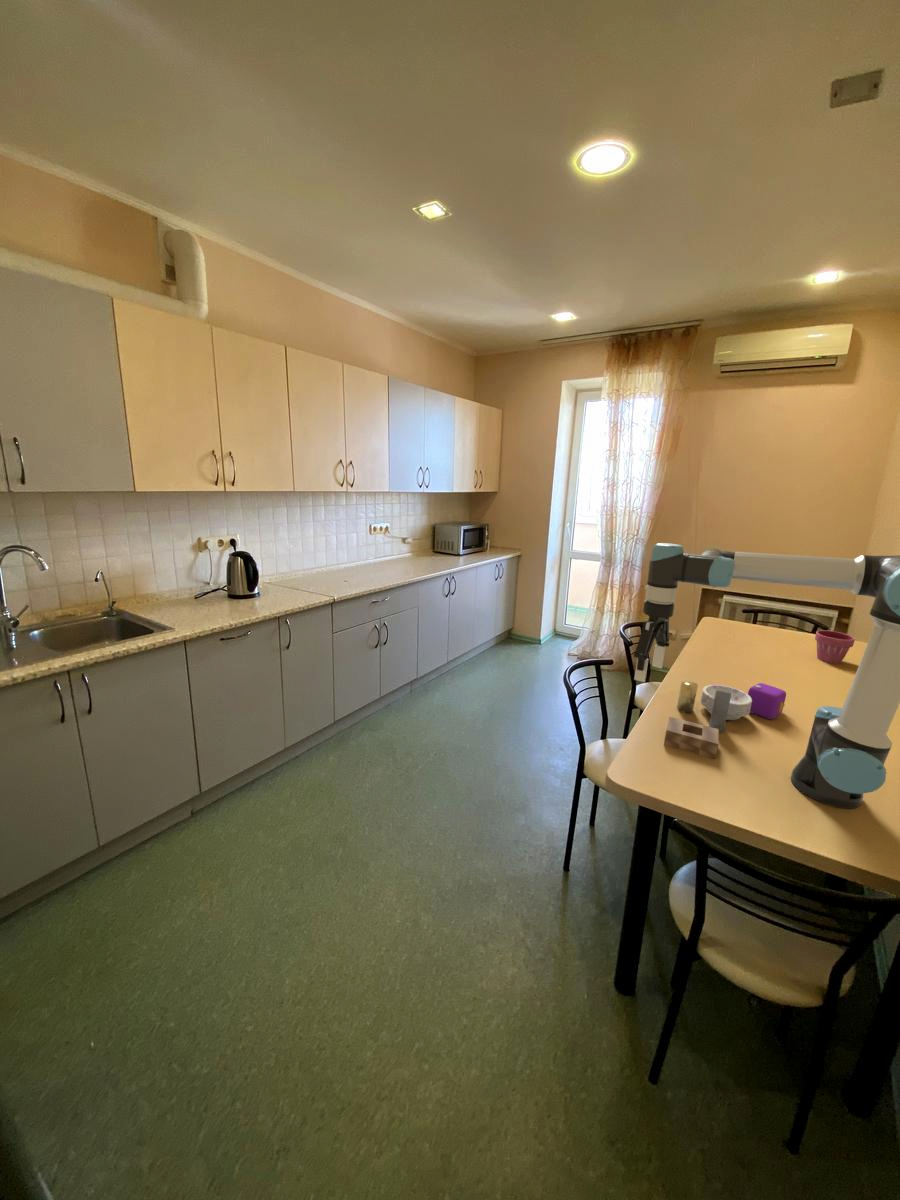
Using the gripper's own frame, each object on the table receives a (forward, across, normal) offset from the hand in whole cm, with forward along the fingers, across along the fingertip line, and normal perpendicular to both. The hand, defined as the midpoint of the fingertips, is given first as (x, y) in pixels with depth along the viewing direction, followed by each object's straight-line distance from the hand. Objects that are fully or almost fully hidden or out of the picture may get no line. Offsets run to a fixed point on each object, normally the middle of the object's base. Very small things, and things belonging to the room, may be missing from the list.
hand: (648, 673), depth 132 cm
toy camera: (+26, -62, +23) cm, 71 cm away
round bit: (+26, -42, +2) cm, 49 cm away
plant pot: (+27, -148, +36) cm, 154 cm away
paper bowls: (+26, -48, +12) cm, 56 cm away
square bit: (+26, -35, +13) cm, 46 cm away
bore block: (+26, -18, +10) cm, 33 cm away
